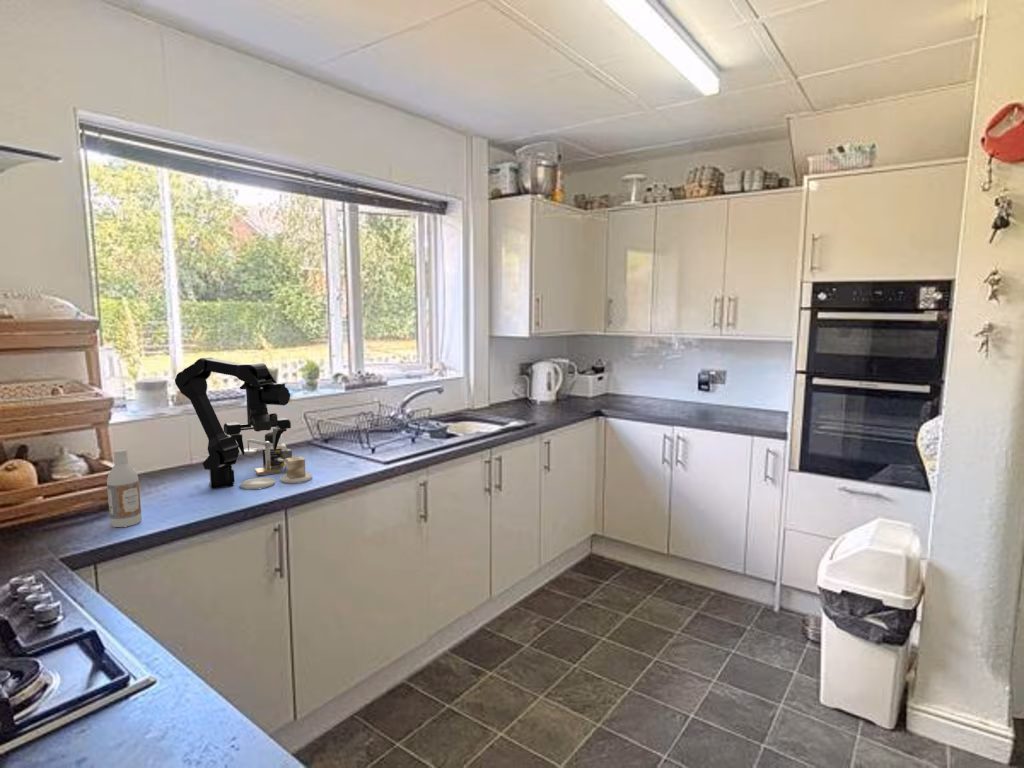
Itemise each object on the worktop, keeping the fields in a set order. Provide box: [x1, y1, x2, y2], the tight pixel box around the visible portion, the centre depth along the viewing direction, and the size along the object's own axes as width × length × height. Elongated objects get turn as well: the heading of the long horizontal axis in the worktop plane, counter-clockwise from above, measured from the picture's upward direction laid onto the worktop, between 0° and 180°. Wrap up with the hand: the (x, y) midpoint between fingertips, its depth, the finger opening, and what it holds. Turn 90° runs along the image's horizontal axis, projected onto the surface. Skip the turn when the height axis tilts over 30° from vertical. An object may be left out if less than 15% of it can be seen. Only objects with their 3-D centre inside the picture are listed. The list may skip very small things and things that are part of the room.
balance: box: [239, 438, 296, 477], centre depth 204 cm, size 18×6×13 cm, turn 124°
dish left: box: [240, 477, 276, 490], centre depth 190 cm, size 10×10×1 cm
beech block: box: [285, 456, 307, 479], centre depth 196 cm, size 5×5×6 cm
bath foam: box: [106, 448, 143, 528], centre depth 154 cm, size 7×7×20 cm
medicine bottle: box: [262, 431, 287, 468], centre depth 214 cm, size 7×7×12 cm
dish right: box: [279, 471, 313, 484], centre depth 196 cm, size 10×10×1 cm
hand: (259, 452), depth 184 cm, fingers open, 9 cm apart
